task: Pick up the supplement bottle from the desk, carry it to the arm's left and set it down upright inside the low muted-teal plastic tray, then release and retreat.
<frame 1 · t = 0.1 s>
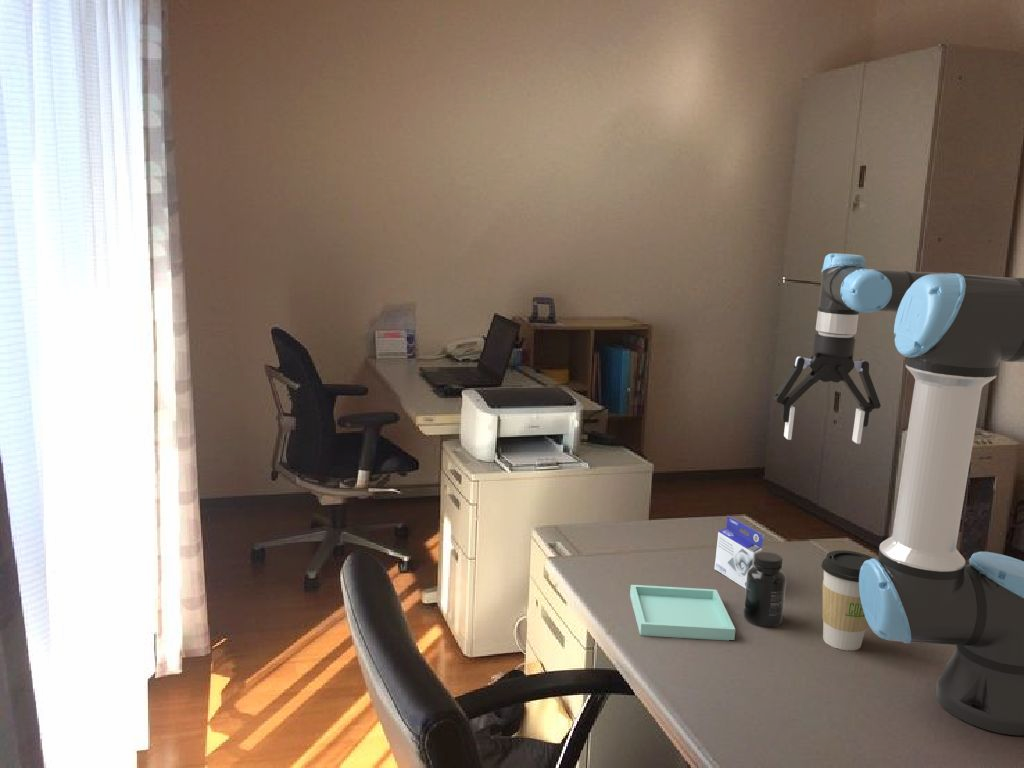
hand: (821, 440, 181), 28 cm above the table, fingers open, 13 cm apart
supplement bottle: (761, 620, 164), on the table
coffee cup: (841, 642, 157), on the table
tray: (679, 616, 163), on the table
ink box: (735, 581, 180), on the table
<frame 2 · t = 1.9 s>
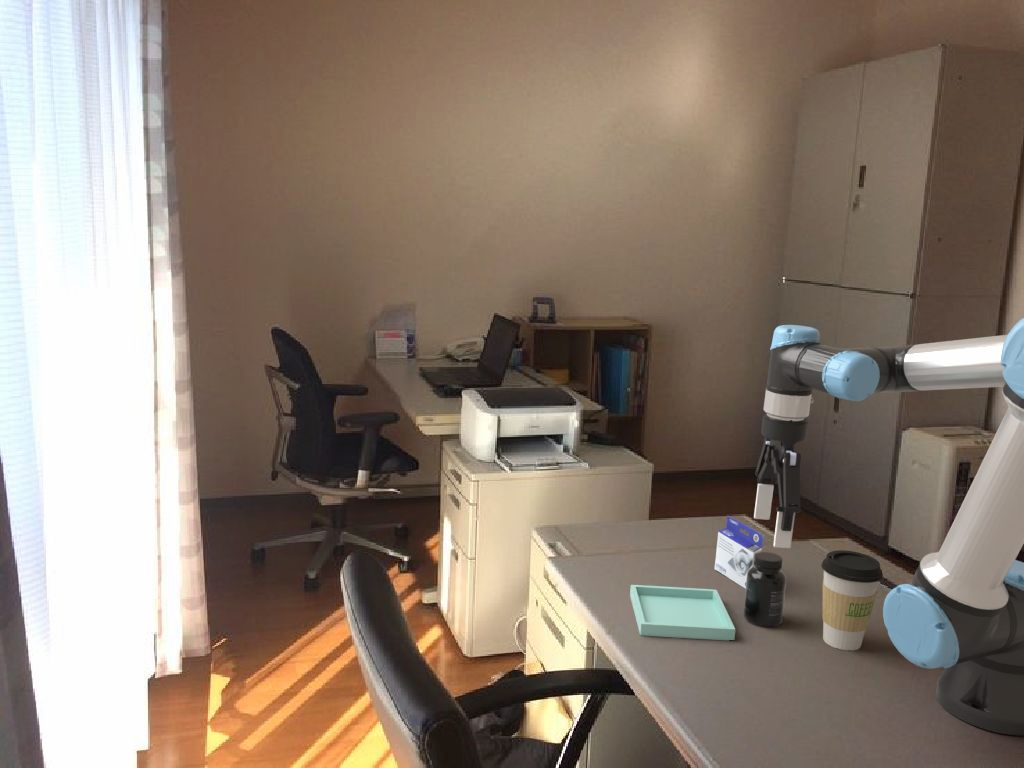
hand: (771, 532, 161), 16 cm above the table, fingers open, 13 cm apart
nothing on the table moved.
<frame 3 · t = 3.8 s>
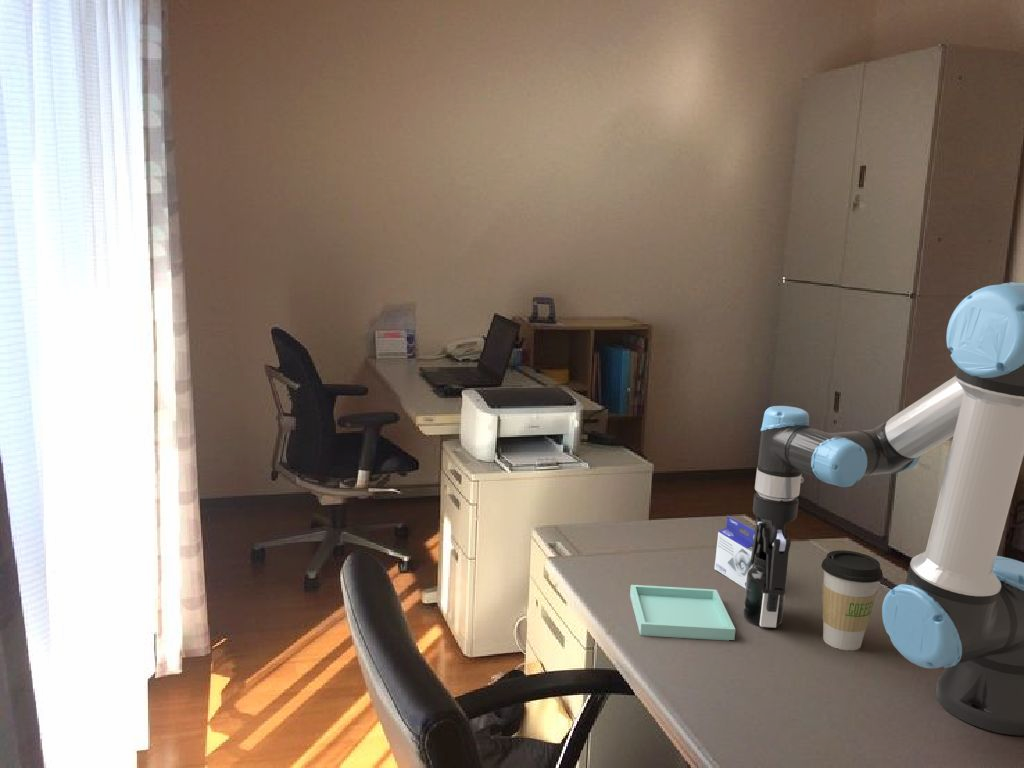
hand: (762, 616, 164), 1 cm above the table, fingers closed on supplement bottle, 7 cm apart
supplement bottle: (761, 620, 164), on the table, touching gripper
everything else where it was.
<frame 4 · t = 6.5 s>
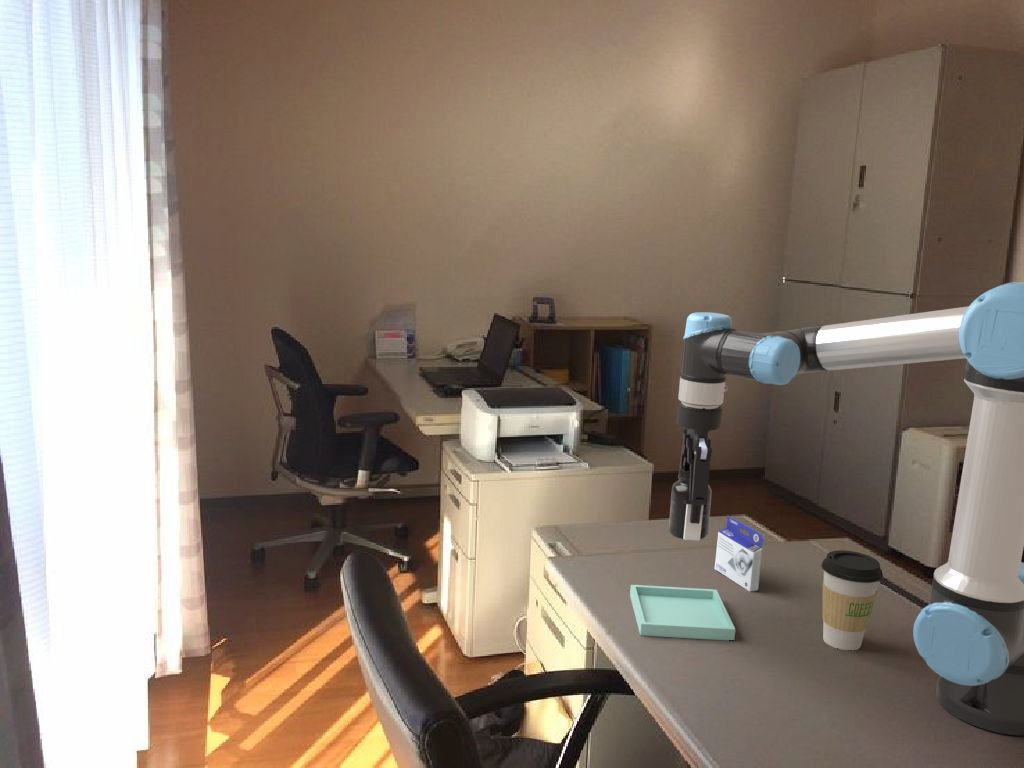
hand: (687, 531, 160), 16 cm above the table, fingers closed on supplement bottle, 7 cm apart
supplement bottle: (687, 535, 160), point 15 cm above the table, touching gripper
everything else where it was.
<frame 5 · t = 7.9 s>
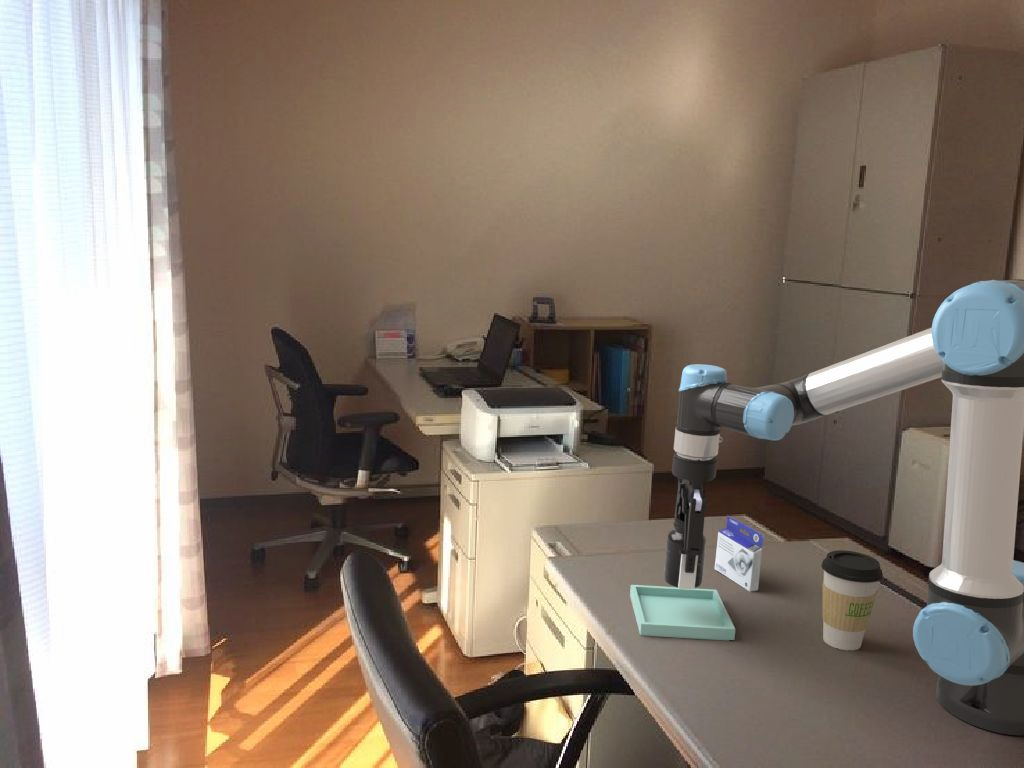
hand: (682, 578, 161), 7 cm above the table, fingers closed on supplement bottle, 7 cm apart
supplement bottle: (682, 582, 162), point 6 cm above the table, touching gripper
everything else where it was.
when the fingers open (2 cm above the table, at t = 9.2 s): supplement bottle drops 1 cm, resting on tray.
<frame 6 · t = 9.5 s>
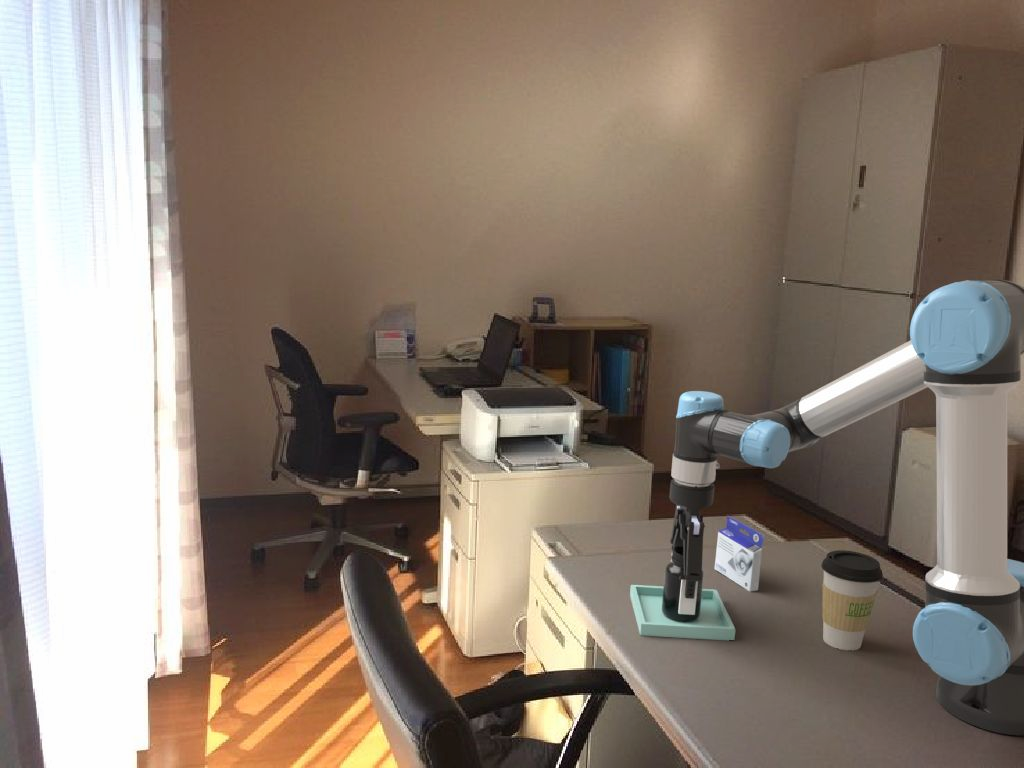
hand: (681, 599, 162), 3 cm above the table, fingers open, 10 cm apart
supplement bottle: (679, 615, 163), resting on tray
everything else where it was.
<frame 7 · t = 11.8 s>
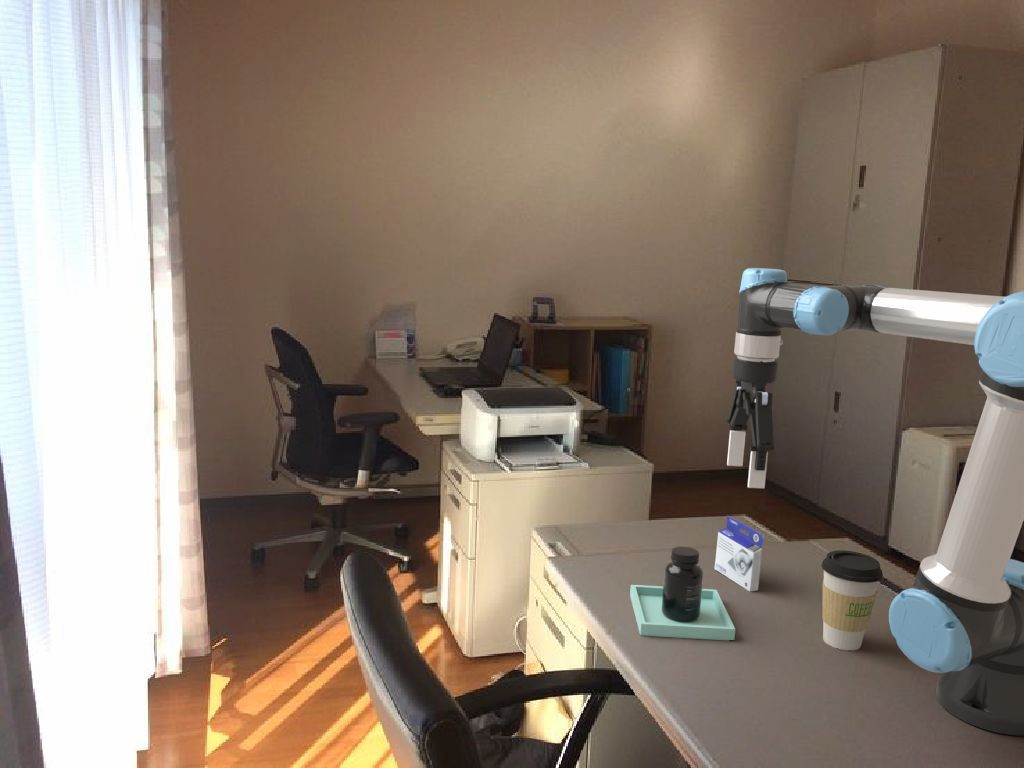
hand: (744, 476, 162), 26 cm above the table, fingers open, 13 cm apart
nothing on the table moved.
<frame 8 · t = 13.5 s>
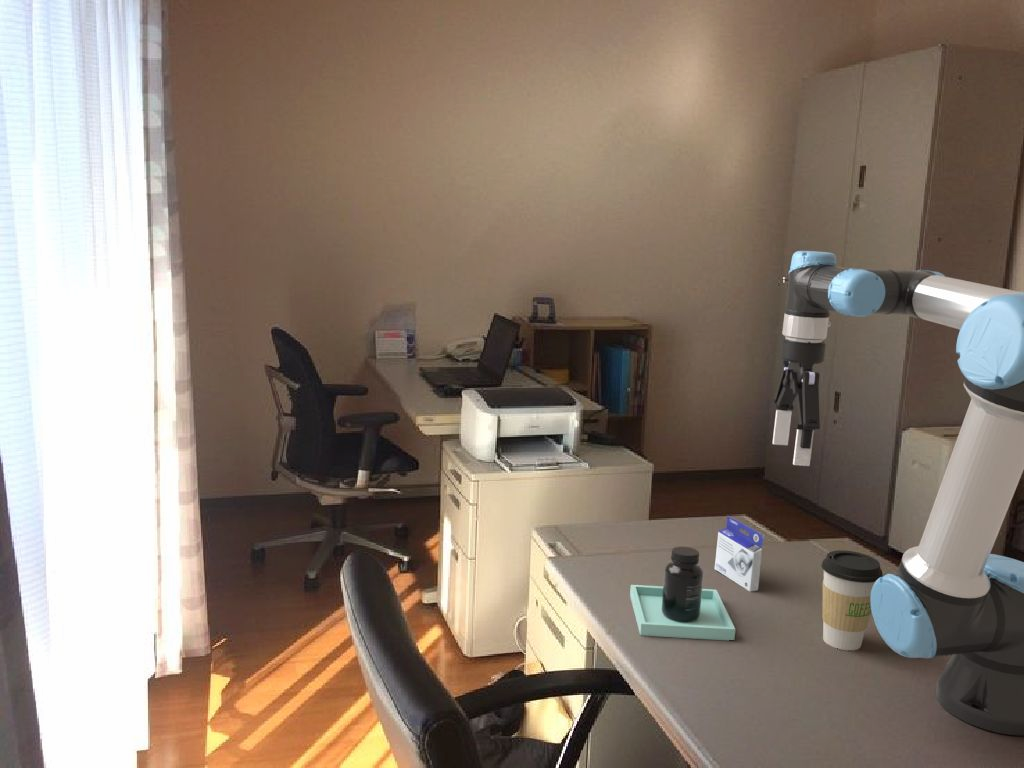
hand: (790, 454, 166), 29 cm above the table, fingers open, 13 cm apart
nothing on the table moved.
at the end: supplement bottle inside the target area on the tray (0.0 cm from its centre), point 0.3 cm above the tray's base; supplement bottle tilted 0°; the gripper is holding nothing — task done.
